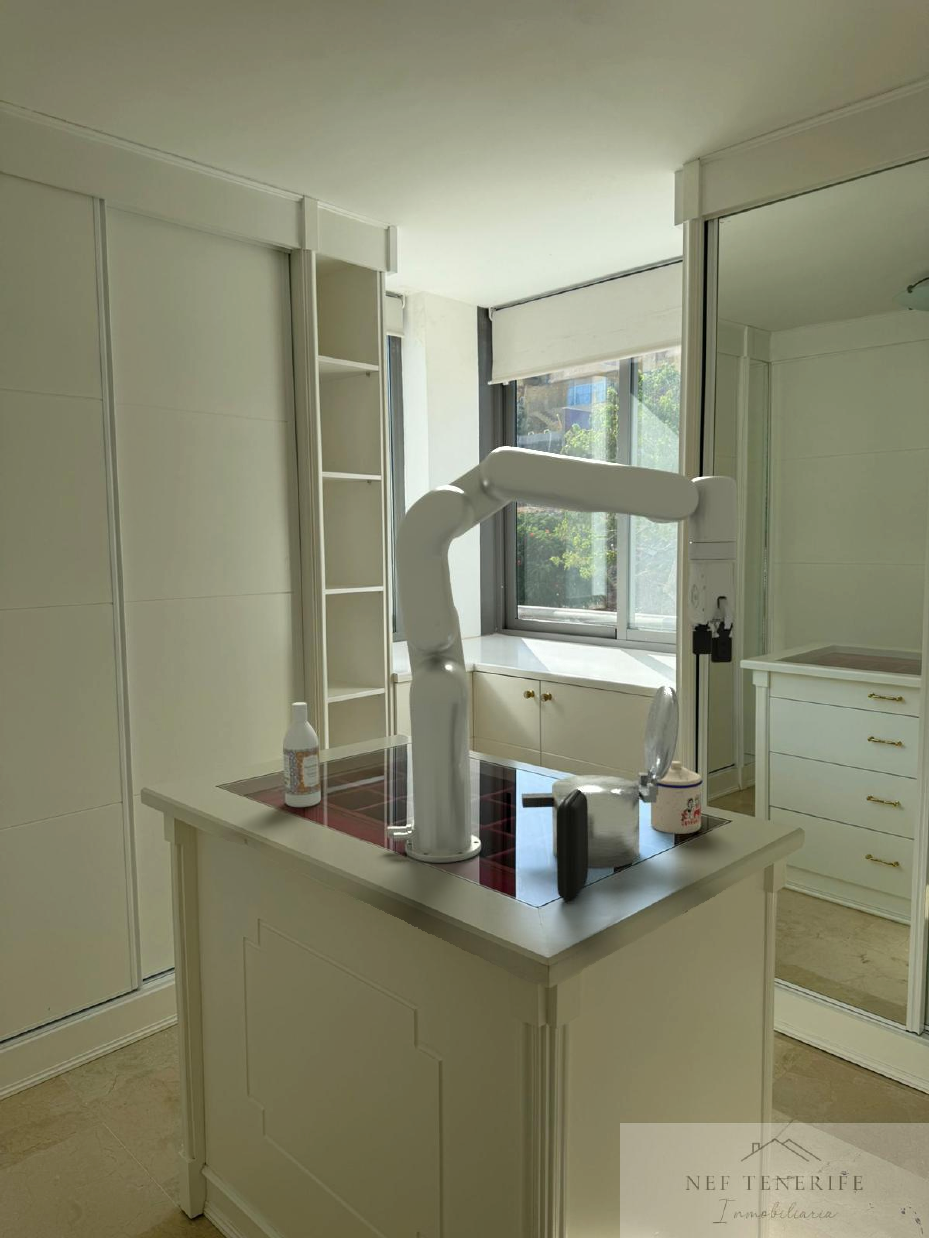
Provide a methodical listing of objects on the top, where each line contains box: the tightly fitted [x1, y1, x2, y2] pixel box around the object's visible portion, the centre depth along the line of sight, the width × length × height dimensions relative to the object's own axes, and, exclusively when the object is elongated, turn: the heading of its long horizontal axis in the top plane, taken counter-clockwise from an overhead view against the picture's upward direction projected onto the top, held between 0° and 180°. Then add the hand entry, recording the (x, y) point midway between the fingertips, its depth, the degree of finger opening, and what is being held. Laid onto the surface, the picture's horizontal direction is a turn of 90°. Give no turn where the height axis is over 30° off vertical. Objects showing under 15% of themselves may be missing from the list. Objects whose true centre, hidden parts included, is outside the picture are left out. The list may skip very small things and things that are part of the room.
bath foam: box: [282, 701, 322, 808], centre depth 176 cm, size 7×7×20 cm
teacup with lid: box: [650, 760, 703, 835], centre depth 158 cm, size 12×9×12 cm
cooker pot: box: [521, 772, 658, 869], centre depth 145 cm, size 21×14×12 cm, turn 91°
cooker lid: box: [643, 685, 680, 784], centre depth 144 cm, size 16×15×3 cm
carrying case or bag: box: [556, 789, 589, 904], centre depth 129 cm, size 11×3×15 cm, turn 160°
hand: (711, 658), depth 146 cm, fingers open, 9 cm apart
